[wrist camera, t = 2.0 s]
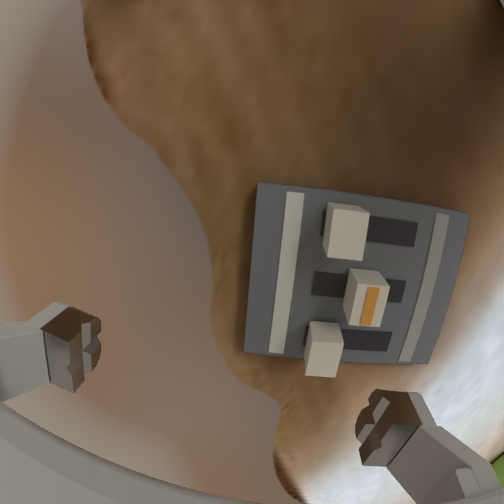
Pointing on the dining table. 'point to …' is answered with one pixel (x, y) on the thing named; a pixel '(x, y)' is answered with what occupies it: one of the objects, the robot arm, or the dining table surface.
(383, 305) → the breaker mid
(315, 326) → the breaker
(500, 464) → the teapot
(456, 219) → the panel
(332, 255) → the block
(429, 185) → the dining table surface
